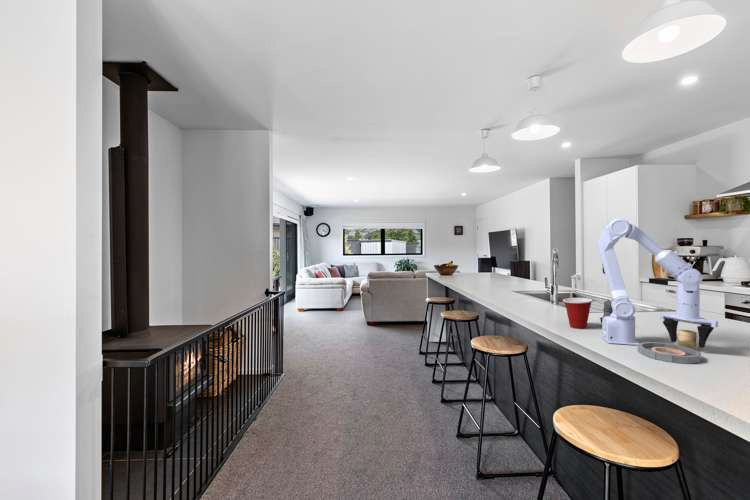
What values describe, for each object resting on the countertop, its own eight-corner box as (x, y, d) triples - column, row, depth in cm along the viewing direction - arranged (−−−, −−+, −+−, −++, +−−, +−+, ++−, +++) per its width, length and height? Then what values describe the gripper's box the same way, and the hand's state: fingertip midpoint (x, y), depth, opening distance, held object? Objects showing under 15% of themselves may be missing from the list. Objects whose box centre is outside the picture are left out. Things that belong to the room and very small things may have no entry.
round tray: (650, 360, 102) (650, 354, 102) (630, 346, 116) (630, 340, 116) (713, 366, 98) (713, 359, 98) (684, 350, 112) (684, 344, 112)
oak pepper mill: (682, 350, 111) (682, 332, 111) (675, 346, 116) (675, 329, 115) (699, 352, 110) (699, 333, 110) (691, 348, 114) (691, 330, 114)
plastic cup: (558, 324, 149) (558, 296, 149) (584, 324, 148) (585, 297, 147) (569, 330, 138) (569, 301, 138) (597, 330, 137) (597, 301, 137)
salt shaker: (619, 329, 139) (619, 300, 138) (603, 329, 140) (603, 300, 140) (612, 326, 144) (612, 298, 144) (597, 325, 146) (597, 297, 145)
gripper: (722, 306, 108) (722, 348, 108) (667, 299, 121) (666, 337, 121) (712, 308, 105) (712, 351, 105) (656, 301, 118) (656, 340, 118)
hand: (687, 344), depth 113 cm, fingers open, 7 cm apart
